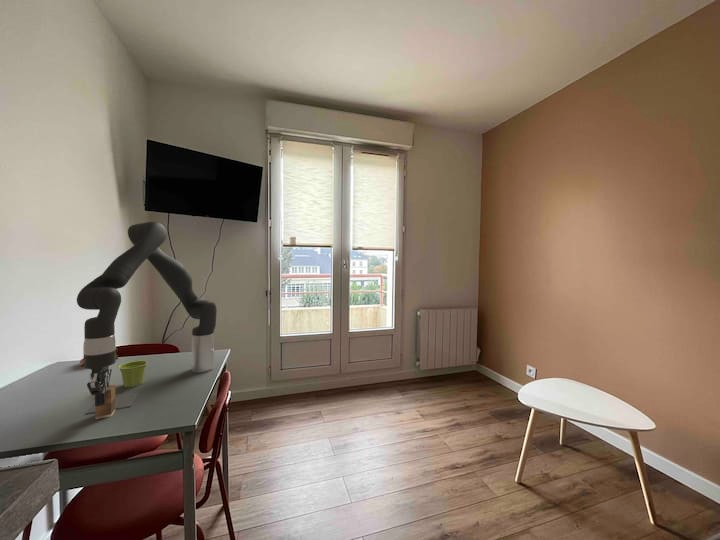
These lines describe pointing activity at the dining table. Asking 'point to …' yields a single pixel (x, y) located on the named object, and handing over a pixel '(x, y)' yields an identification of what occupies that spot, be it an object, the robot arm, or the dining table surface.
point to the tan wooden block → (107, 404)
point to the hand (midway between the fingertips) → (100, 404)
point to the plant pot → (133, 373)
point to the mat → (119, 402)
